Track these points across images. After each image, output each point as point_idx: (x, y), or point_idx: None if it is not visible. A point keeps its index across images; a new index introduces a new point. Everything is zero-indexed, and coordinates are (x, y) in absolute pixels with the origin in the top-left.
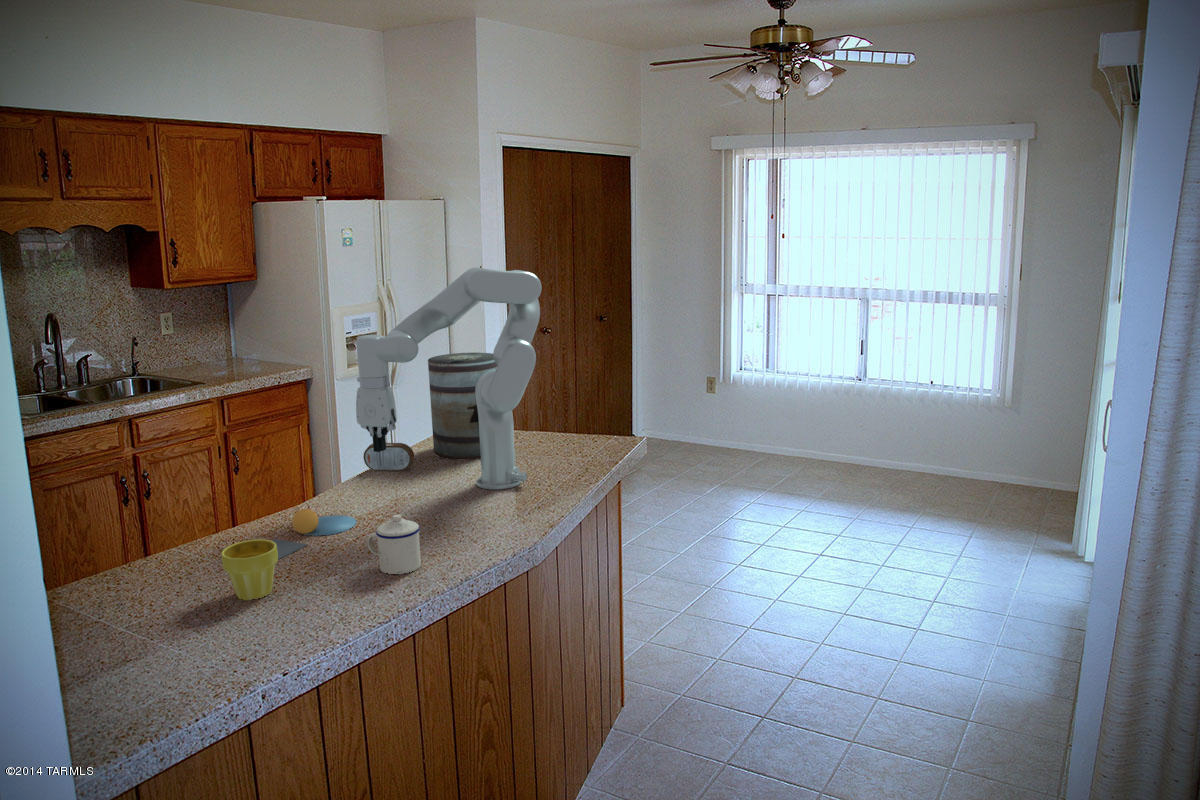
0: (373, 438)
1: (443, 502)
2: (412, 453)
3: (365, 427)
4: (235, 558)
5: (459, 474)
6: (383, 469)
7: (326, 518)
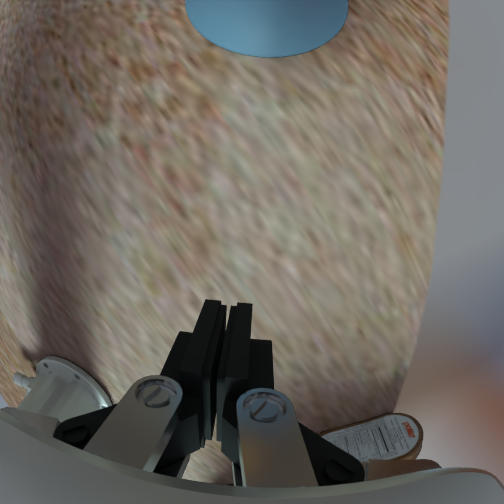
0: (238, 369)
1: (73, 261)
2: None
3: (380, 473)
4: None
5: None
6: (370, 421)
7: (307, 28)
